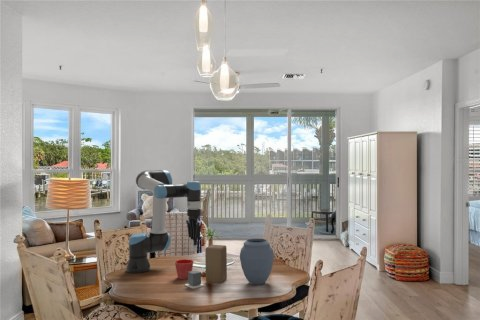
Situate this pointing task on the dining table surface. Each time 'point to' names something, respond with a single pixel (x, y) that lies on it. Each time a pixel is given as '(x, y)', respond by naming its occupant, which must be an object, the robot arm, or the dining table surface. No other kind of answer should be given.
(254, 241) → the vase
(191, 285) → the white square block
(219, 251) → the wooden block
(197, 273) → the grey rectangular block
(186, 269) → the flower pot
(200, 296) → the dining table surface
